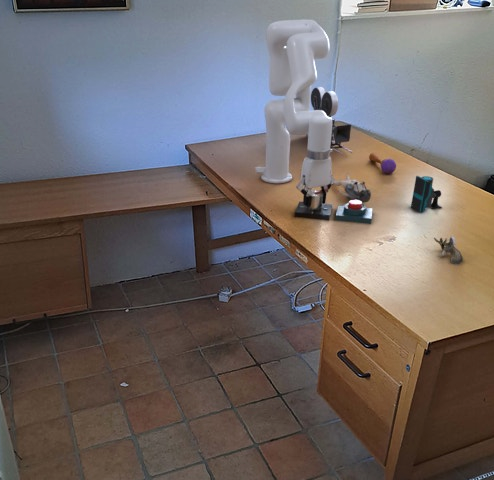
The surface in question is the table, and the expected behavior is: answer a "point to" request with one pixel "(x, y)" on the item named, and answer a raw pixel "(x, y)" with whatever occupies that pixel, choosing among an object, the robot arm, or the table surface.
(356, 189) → the anime figure
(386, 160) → the purple maraca
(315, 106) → the film camera
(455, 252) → the antlered animal figurine
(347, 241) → the table surface
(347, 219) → the button box
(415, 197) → the surveillance camera
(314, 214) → the dial panel
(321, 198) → the dial
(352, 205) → the red button
